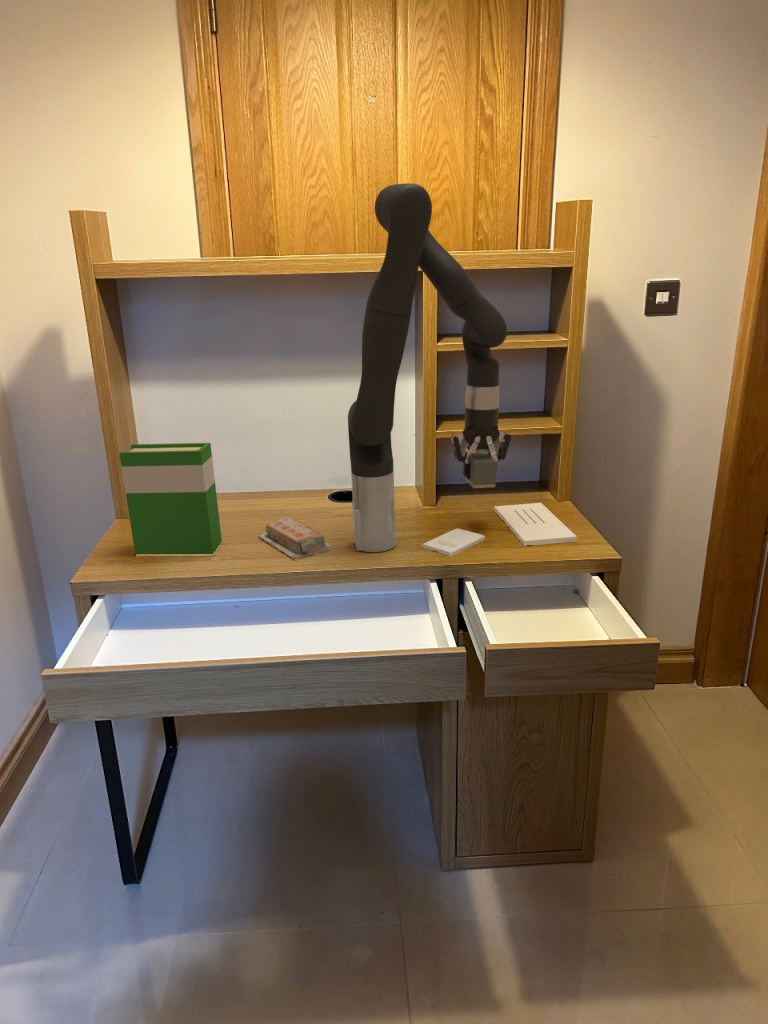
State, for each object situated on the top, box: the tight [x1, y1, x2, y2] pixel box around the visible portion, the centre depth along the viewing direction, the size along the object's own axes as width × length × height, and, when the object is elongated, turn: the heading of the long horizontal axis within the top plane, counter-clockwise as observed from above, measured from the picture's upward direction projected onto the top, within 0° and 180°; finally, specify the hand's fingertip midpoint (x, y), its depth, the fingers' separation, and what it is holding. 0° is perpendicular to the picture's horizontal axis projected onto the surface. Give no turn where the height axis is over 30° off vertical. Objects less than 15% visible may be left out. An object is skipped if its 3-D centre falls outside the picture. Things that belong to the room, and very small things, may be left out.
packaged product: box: [258, 515, 333, 561], centre depth 171 cm, size 18×5×10 cm
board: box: [493, 502, 578, 547], centre depth 177 cm, size 12×24×1 cm, turn 8°
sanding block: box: [463, 450, 497, 489], centre depth 173 cm, size 9×5×6 cm, turn 9°
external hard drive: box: [421, 528, 486, 557], centre depth 168 cm, size 2×8×12 cm
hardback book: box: [119, 442, 223, 555], centre depth 167 cm, size 18×7×24 cm, turn 87°
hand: (479, 477), depth 174 cm, fingers closed on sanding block, 5 cm apart
